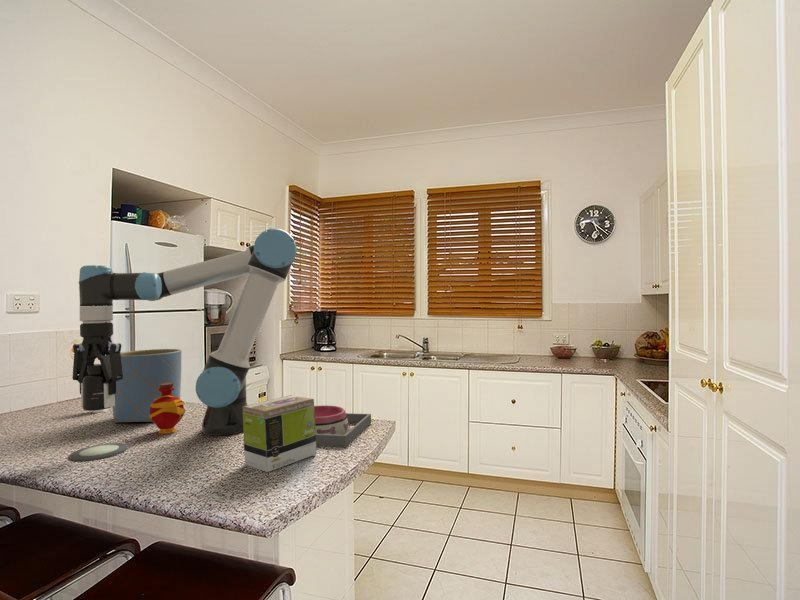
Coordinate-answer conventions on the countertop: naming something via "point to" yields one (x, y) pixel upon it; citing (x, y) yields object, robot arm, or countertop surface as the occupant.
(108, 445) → the plate
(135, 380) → the planter
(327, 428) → the dog bowl
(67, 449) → the countertop surface
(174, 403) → the potion bottle
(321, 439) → the bowl mat frame
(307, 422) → the tea box
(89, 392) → the supplement bottle
